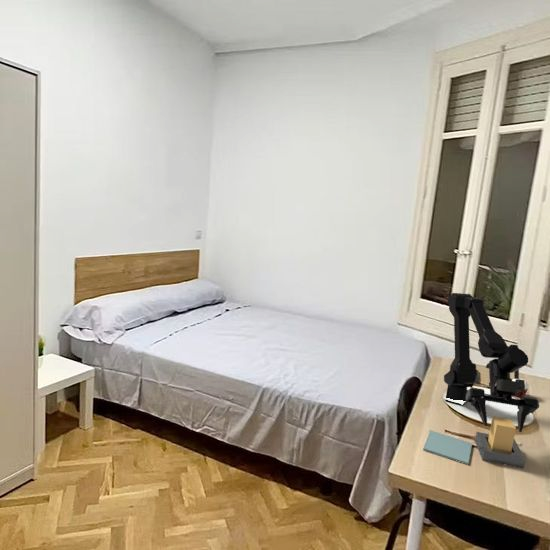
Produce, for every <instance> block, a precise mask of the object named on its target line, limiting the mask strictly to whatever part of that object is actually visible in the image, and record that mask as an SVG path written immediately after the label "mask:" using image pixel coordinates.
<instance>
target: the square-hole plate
mask: <svg viewBox="0 0 550 550" xmlns="http://www.w3.org/2000/svg"><path fill="white" fill-rule="evenodd" d="M475 433H476V434H475V438H474V442H475V445H476V447H477V450H478V453H479V455H480V457H481V460H482V461H485V462H489V461H490V462H491V463H496V464H499V463H500V464H501V465H504V464H506V465H505V466H509V465H510V466H509V467H514V466H515V467H514V468H519V467H520V468H519V469H524V466H525V461H526V457H525V455H524V454H523V452H522V451H521V449H520V446H519V445H518V443H517V441H516V440H515V438H514V441H513V446H512V451H511V452H507V451H502V450H497V449H492V448H490V446H489V444H488V438H489V433H485V432H480V431H476V432H475ZM490 462H489V463H490ZM500 464H499V465H500Z"/></svg>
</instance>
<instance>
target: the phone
mask: <svg viewBox="0 0 550 550" xmlns="http://www.w3.org/2000/svg"><path fill="white" fill-rule="evenodd" d="M476 374H477V376H476V377H477V378H476V380H475V382H474V384H477V385H478V384H479V383H480V378H479V377H480V376H479V369H476Z"/></svg>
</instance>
